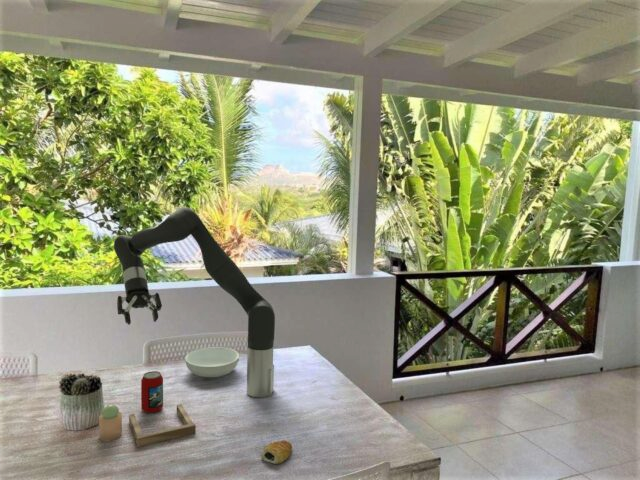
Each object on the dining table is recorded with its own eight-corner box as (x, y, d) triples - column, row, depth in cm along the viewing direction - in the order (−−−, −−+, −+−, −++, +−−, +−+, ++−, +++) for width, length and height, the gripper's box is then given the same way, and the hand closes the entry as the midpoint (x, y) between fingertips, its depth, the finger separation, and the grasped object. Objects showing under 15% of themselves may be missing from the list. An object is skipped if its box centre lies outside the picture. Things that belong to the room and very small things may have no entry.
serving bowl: (173, 374, 183) (173, 357, 182) (214, 359, 200) (214, 343, 199) (210, 388, 171) (210, 370, 170) (249, 371, 188) (250, 354, 187)
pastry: (278, 444, 136) (279, 431, 135) (298, 451, 132) (298, 439, 132) (258, 459, 128) (259, 446, 127) (278, 468, 124) (279, 454, 124)
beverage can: (156, 415, 149) (155, 379, 148) (137, 412, 151) (136, 377, 149) (167, 406, 156) (167, 371, 155) (148, 403, 157) (148, 369, 156)
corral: (128, 422, 145) (128, 414, 144) (182, 411, 153) (182, 403, 153) (137, 447, 131) (137, 438, 131) (195, 433, 140) (195, 425, 140)
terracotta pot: (125, 430, 140) (125, 401, 139) (115, 441, 134) (115, 410, 133) (106, 429, 140) (105, 400, 139) (95, 440, 134) (94, 409, 133)
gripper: (154, 286, 174) (161, 325, 166) (112, 289, 166) (118, 329, 158) (158, 275, 169) (166, 314, 161) (115, 277, 161) (121, 318, 153)
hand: (142, 322), depth 159 cm, fingers open, 8 cm apart
